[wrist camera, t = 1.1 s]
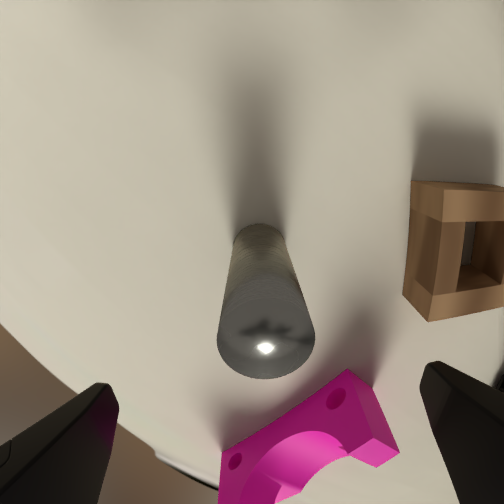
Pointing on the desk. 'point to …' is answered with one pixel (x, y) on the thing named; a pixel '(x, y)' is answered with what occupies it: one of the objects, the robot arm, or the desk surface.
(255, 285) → the metal canister
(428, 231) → the brown square frame
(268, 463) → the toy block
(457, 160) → the desk surface
